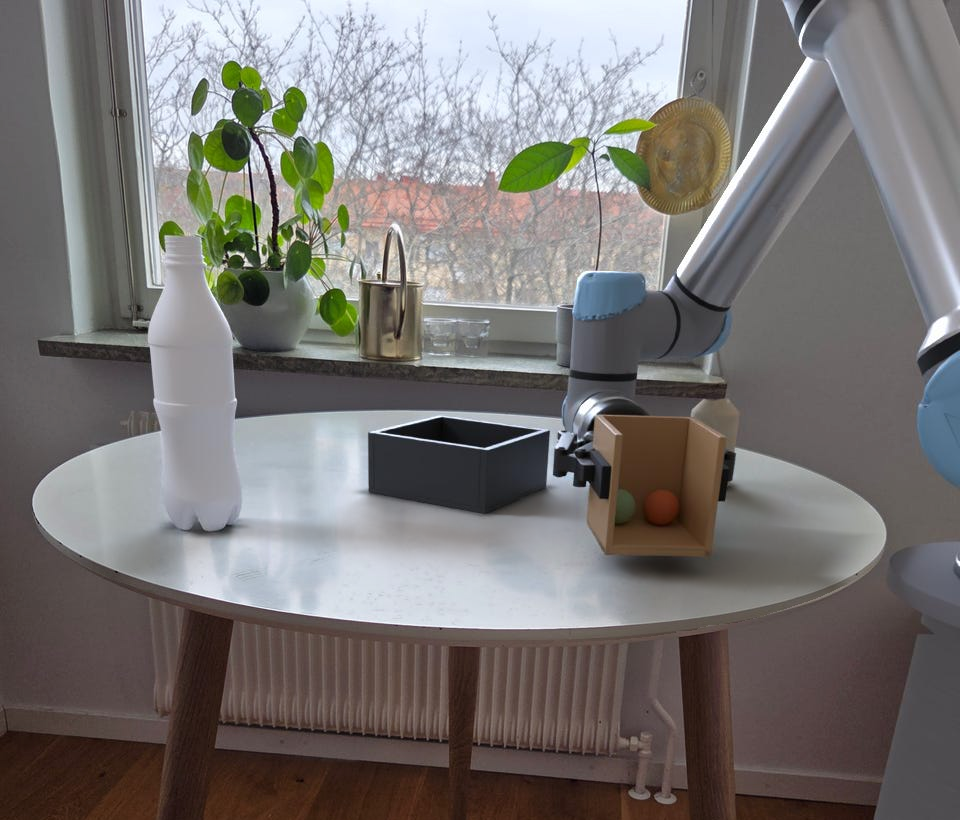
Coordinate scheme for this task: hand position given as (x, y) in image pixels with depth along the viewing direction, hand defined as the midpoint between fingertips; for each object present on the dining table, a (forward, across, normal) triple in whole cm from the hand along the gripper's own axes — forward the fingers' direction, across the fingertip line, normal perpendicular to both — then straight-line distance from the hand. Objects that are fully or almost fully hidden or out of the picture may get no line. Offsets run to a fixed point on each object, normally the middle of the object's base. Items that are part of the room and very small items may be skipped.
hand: (664, 484), depth 76 cm
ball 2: (-7, -2, -5) cm, 9 cm away
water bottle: (-12, +40, -8) cm, 43 cm away
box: (-5, 0, -6) cm, 8 cm away
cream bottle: (-35, -14, -8) cm, 38 cm away
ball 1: (-7, +2, -5) cm, 9 cm away
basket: (-29, +16, -8) cm, 33 cm away
